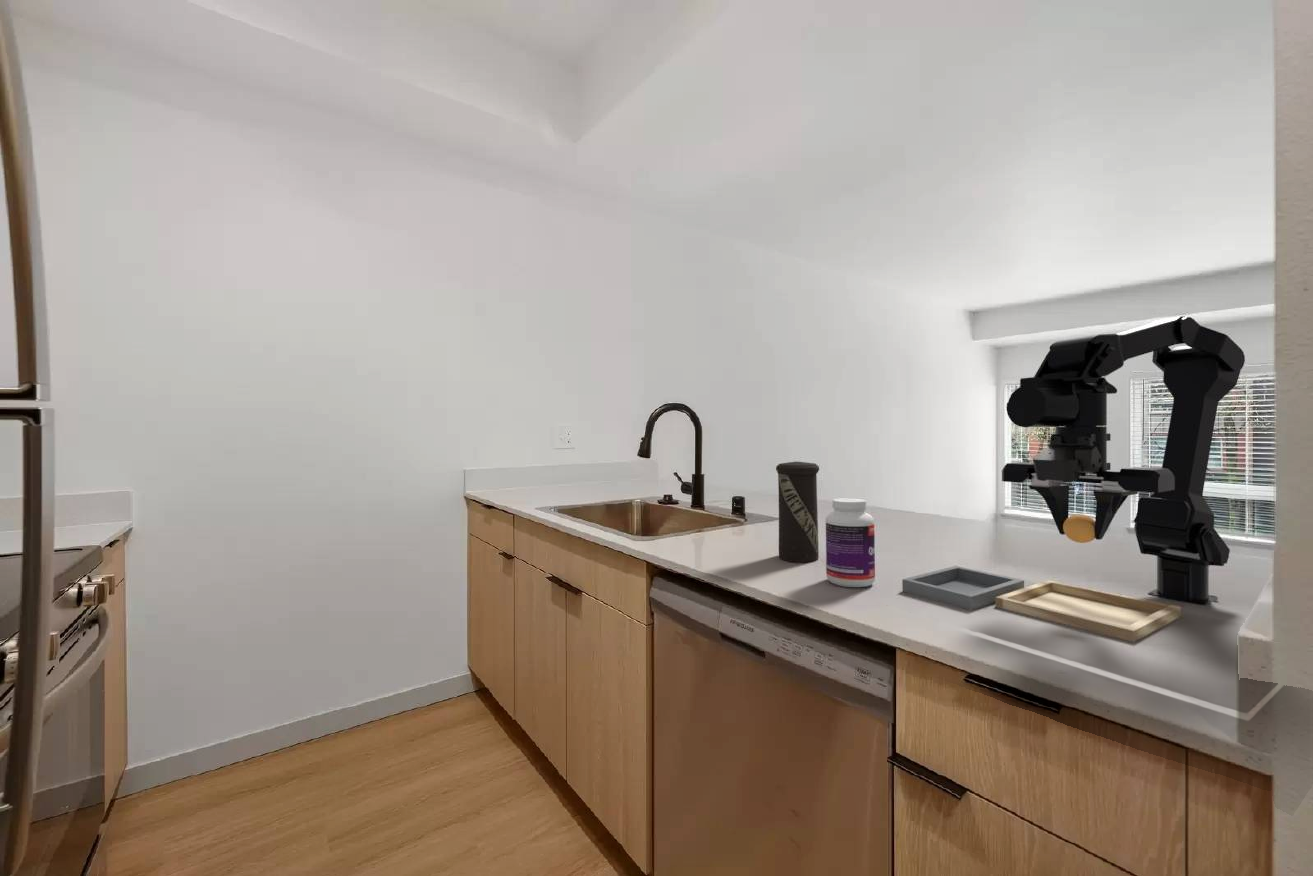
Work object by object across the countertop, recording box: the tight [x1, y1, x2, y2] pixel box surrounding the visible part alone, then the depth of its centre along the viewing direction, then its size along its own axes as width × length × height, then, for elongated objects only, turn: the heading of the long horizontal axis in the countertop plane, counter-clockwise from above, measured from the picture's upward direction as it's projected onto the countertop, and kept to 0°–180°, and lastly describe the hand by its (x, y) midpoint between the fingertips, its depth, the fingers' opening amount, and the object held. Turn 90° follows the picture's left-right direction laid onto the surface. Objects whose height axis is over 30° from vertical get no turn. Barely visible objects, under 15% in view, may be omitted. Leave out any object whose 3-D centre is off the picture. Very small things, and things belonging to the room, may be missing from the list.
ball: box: [1063, 513, 1096, 544], centre depth 77 cm, size 4×4×4 cm
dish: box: [994, 579, 1182, 643], centre depth 77 cm, size 16×16×2 cm
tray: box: [901, 565, 1025, 611], centre depth 87 cm, size 15×11×2 cm
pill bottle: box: [825, 497, 876, 588], centre depth 95 cm, size 8×8×14 cm
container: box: [775, 461, 820, 563], centre depth 113 cm, size 9×9×20 cm
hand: (1080, 536), depth 77 cm, fingers closed on ball, 4 cm apart
